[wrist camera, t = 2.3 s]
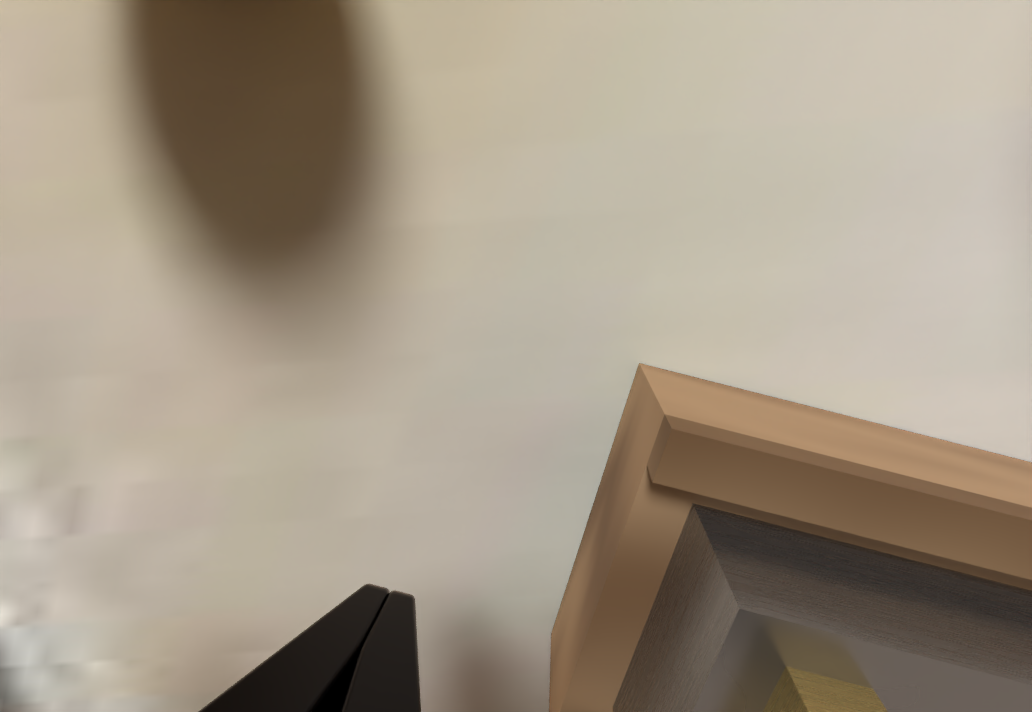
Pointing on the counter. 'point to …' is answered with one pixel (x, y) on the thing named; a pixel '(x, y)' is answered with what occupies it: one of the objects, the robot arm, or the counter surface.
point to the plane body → (768, 507)
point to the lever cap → (823, 629)
